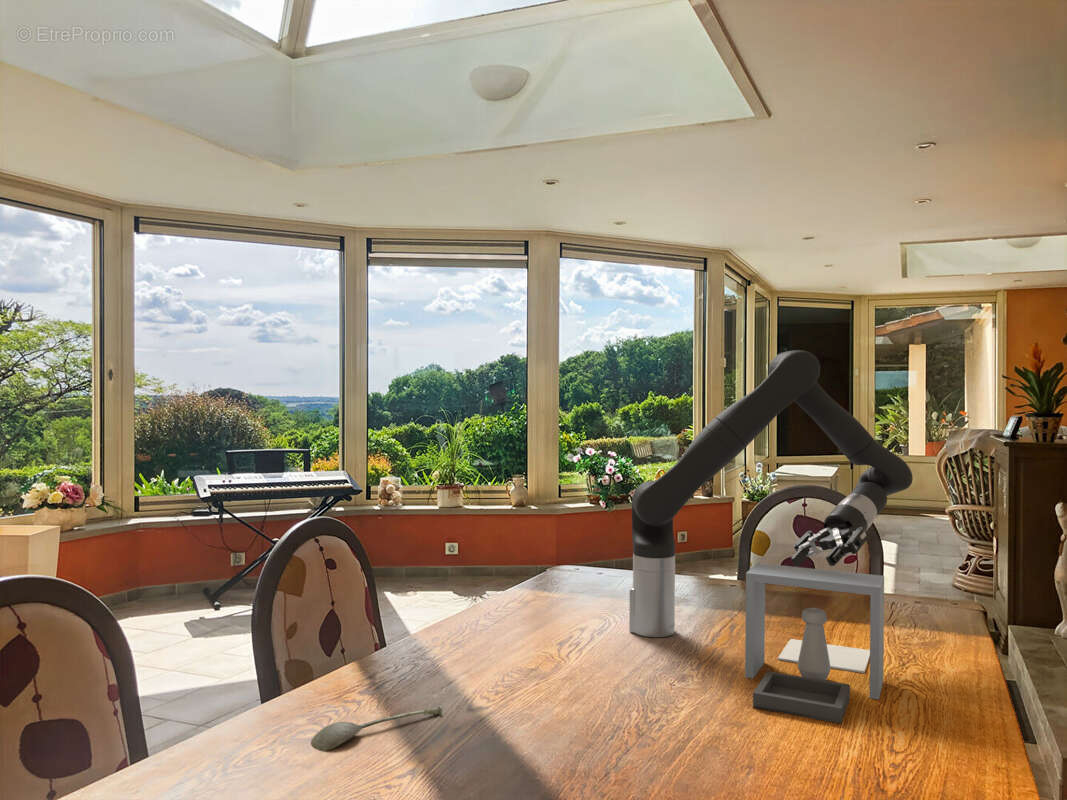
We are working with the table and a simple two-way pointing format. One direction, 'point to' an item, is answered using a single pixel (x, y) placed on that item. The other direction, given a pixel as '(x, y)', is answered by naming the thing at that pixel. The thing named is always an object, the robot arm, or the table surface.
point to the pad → (831, 656)
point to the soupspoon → (353, 730)
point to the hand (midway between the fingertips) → (811, 562)
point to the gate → (813, 580)
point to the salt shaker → (814, 646)
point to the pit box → (802, 696)
